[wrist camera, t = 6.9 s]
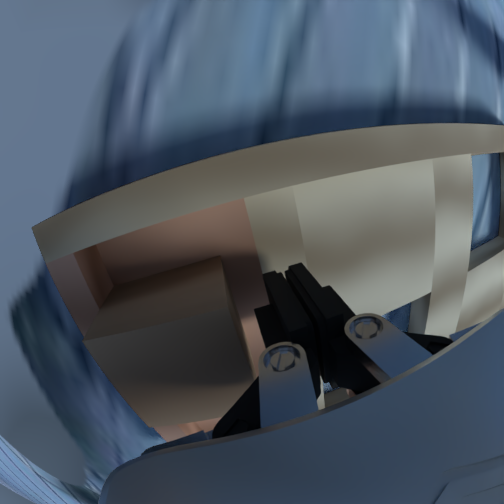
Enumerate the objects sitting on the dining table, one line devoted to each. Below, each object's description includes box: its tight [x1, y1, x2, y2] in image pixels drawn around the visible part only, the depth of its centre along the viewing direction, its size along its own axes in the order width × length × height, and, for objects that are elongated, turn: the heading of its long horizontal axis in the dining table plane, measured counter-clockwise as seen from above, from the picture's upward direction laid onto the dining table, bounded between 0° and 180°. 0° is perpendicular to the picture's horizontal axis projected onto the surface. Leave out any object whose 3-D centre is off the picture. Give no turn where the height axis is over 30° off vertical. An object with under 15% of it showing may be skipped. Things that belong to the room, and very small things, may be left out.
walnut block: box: [82, 255, 257, 427], centre depth 10 cm, size 5×5×4 cm
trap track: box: [32, 123, 504, 442], centre depth 14 cm, size 20×32×4 cm, turn 104°
